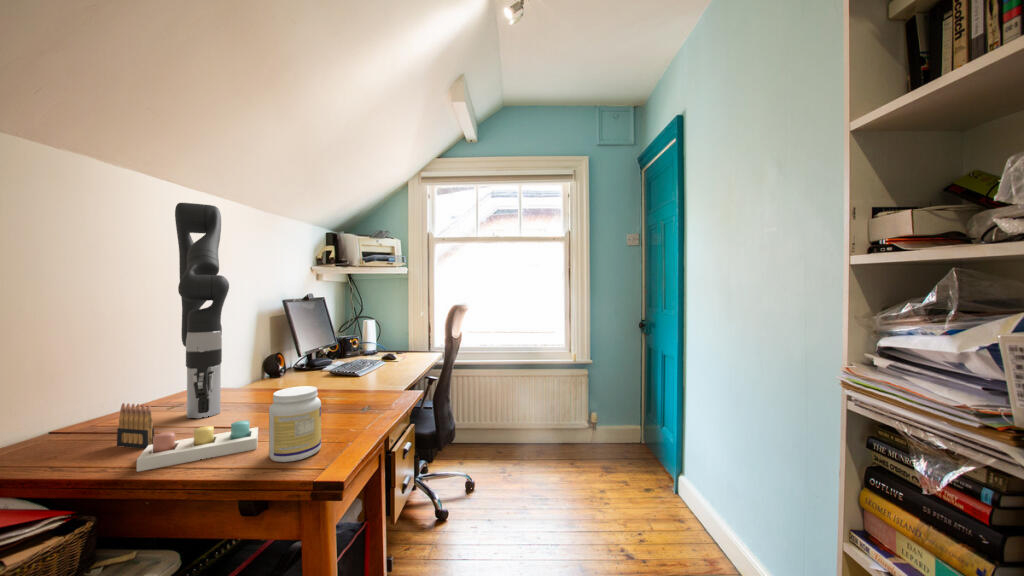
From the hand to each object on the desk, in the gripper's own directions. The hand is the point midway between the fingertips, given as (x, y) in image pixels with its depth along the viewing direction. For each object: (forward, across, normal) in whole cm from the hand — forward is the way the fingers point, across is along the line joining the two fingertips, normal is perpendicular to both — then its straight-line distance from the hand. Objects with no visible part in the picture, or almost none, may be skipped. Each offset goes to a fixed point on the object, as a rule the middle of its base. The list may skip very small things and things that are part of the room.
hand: (203, 412), depth 101 cm
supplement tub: (+11, +14, +21) cm, 28 cm away
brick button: (+9, 0, -8) cm, 12 cm away
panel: (+11, 0, 0) cm, 11 cm away
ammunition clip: (+11, -16, -17) cm, 26 cm away
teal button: (+9, 0, +8) cm, 12 cm away
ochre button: (+9, 0, 0) cm, 9 cm away
